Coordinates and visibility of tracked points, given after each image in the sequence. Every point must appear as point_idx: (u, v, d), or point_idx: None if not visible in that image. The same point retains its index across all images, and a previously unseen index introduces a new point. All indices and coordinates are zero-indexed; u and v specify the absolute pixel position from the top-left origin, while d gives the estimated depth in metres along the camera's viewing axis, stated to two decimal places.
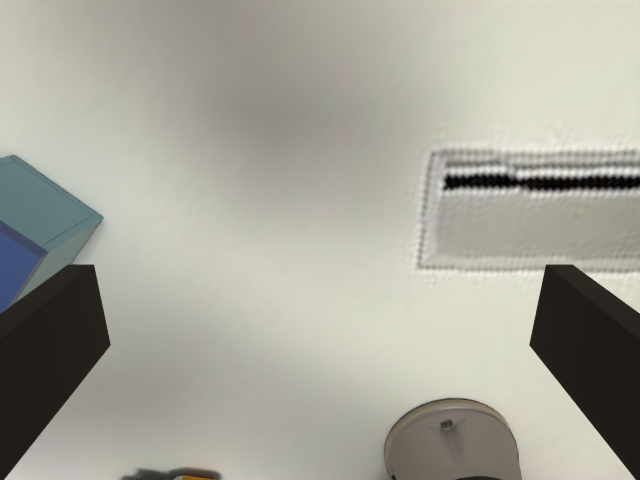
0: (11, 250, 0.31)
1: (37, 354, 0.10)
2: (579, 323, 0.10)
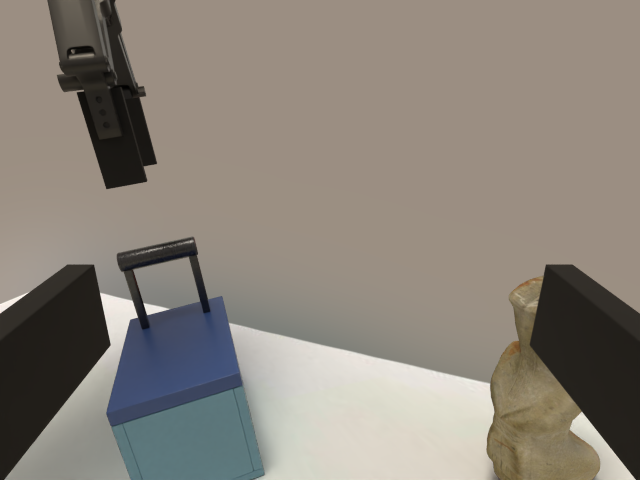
0: (135, 397, 0.30)
1: (37, 354, 0.10)
2: (579, 323, 0.10)
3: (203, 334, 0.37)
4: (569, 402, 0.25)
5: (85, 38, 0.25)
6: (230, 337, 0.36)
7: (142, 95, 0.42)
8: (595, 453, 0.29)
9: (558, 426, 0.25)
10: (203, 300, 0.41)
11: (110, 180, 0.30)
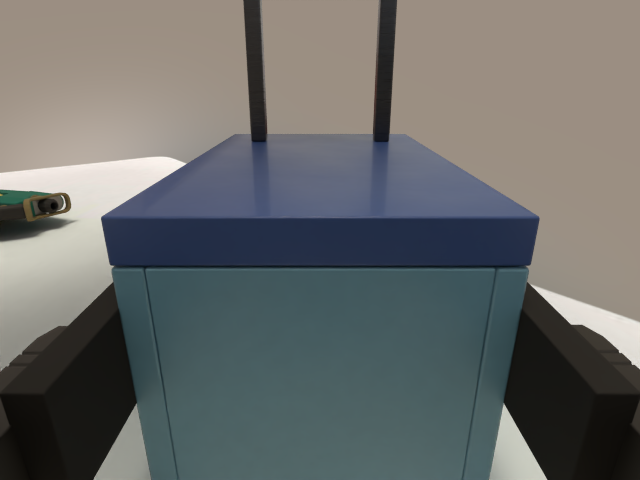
0: (197, 206, 0.10)
1: None
2: None
3: (383, 157, 0.16)
4: None
5: None
6: (456, 167, 0.14)
7: None
8: None
9: None
10: (381, 112, 0.19)
11: None
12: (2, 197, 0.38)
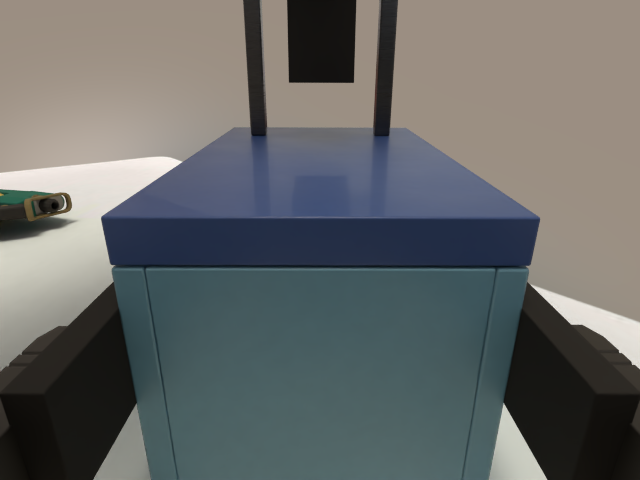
0: (197, 205, 0.10)
1: None
2: None
3: (383, 153, 0.16)
4: None
5: None
6: (456, 163, 0.14)
7: None
8: None
9: None
10: (381, 106, 0.19)
11: (298, 69, 0.17)
12: (3, 197, 0.38)
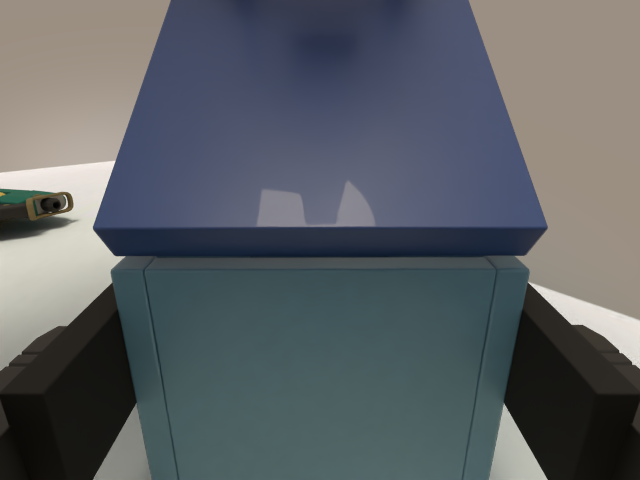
0: (189, 198, 0.09)
1: None
2: None
3: (400, 22, 0.12)
4: None
5: None
6: (486, 59, 0.12)
7: None
8: None
9: None
10: None
11: None
12: (5, 196, 0.38)
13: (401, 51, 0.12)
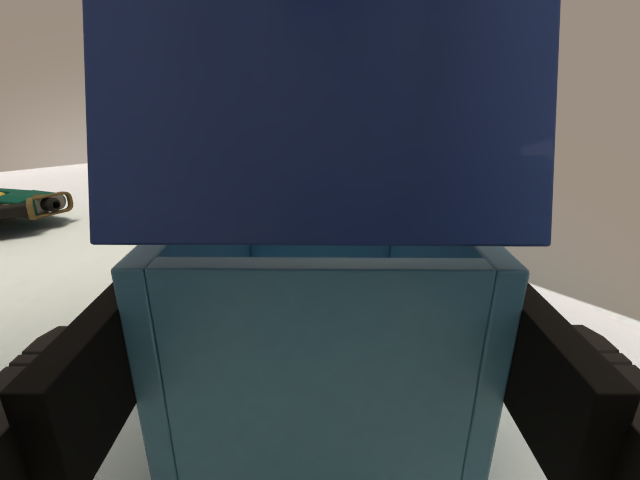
0: (181, 207, 0.08)
1: None
2: None
3: None
4: None
5: None
6: None
7: None
8: None
9: None
10: None
11: None
12: (5, 196, 0.38)
13: None
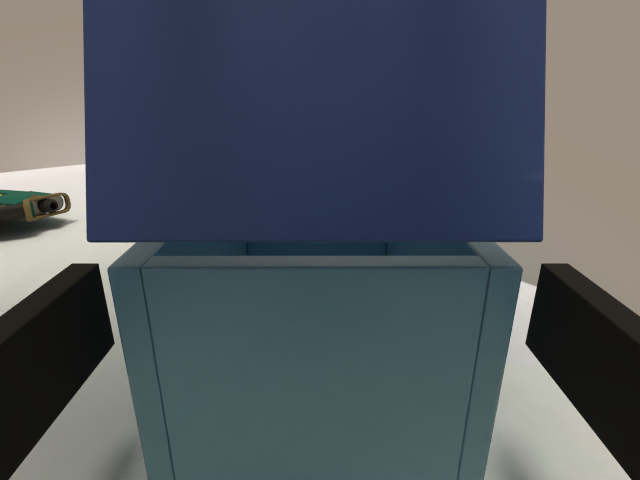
0: (177, 204, 0.09)
1: (43, 352, 0.10)
2: (573, 321, 0.10)
3: None
4: None
5: None
6: None
7: None
8: None
9: None
10: None
11: None
12: (2, 197, 0.38)
13: None
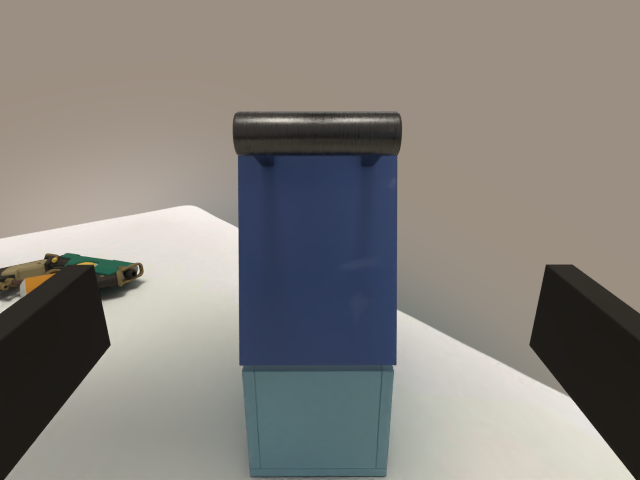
0: (270, 352, 0.25)
1: (37, 354, 0.10)
2: (579, 323, 0.10)
3: (358, 241, 0.25)
4: None
5: None
6: (395, 271, 0.25)
7: None
8: None
9: None
10: (368, 163, 0.23)
11: None
12: (98, 267, 0.54)
13: (356, 265, 0.25)
